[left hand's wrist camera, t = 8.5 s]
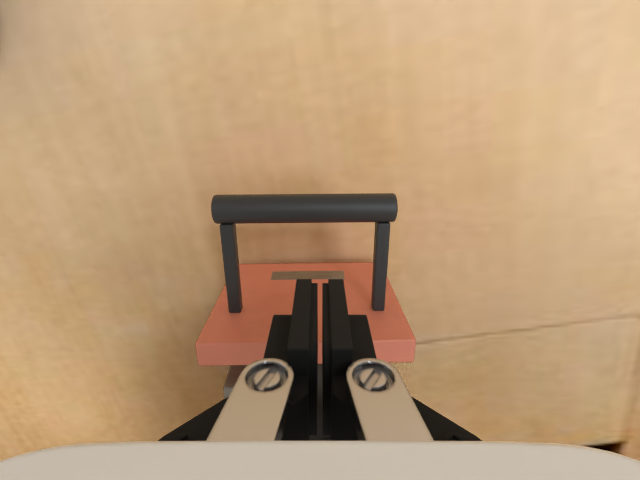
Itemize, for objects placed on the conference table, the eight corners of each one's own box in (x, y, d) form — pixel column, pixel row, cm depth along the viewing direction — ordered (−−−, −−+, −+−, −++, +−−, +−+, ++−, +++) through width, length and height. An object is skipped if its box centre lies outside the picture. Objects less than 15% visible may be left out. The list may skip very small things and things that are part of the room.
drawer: (226, 174, 21) (175, 211, 13) (386, 172, 21) (430, 208, 13) (253, 460, 29) (231, 591, 21) (369, 457, 29) (390, 587, 21)
